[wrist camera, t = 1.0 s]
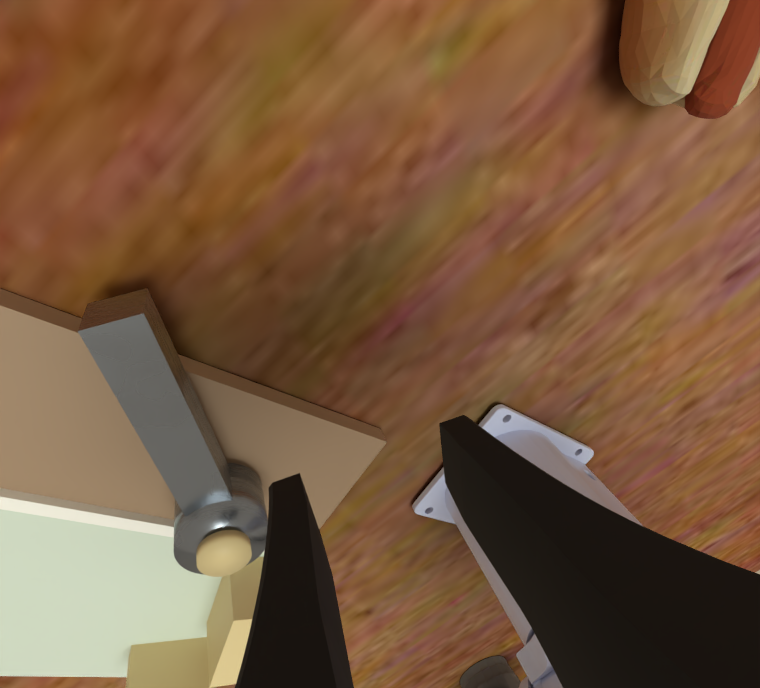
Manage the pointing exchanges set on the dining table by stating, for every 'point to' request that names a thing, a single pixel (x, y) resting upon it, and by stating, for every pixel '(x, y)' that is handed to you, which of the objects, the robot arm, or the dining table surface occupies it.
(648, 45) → the food
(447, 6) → the dining table surface
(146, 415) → the latch bar
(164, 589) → the board
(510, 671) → the beverage cup
